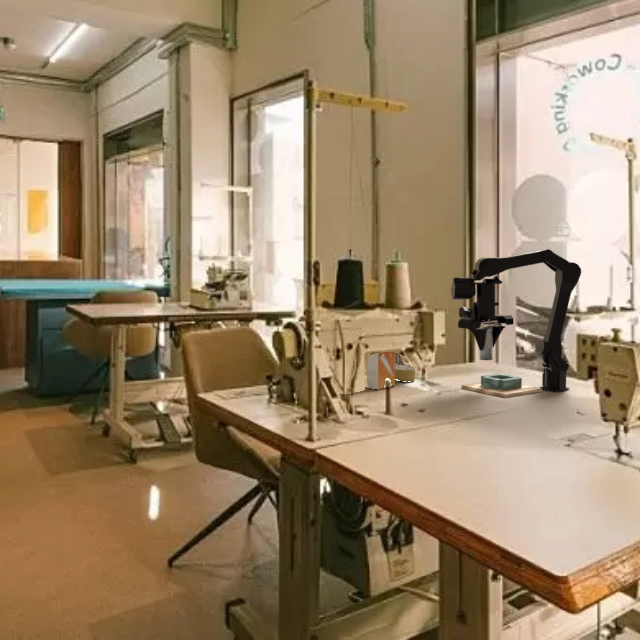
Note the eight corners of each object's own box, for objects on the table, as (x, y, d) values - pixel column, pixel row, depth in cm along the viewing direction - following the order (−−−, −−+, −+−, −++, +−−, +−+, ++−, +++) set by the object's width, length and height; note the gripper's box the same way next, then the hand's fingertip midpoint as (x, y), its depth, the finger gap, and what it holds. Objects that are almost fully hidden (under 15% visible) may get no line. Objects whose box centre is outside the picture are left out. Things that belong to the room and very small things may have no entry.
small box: (378, 390, 230) (378, 348, 229) (363, 387, 235) (363, 346, 234) (395, 387, 236) (395, 346, 235) (380, 384, 240) (380, 344, 239)
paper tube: (414, 379, 249) (415, 304, 247) (415, 382, 243) (416, 306, 240) (394, 378, 250) (394, 304, 248) (394, 382, 243) (394, 306, 241)
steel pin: (495, 359, 229) (495, 327, 228) (486, 360, 227) (486, 328, 226) (485, 357, 232) (485, 326, 231) (476, 359, 230) (476, 327, 229)
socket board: (541, 391, 227) (541, 378, 227) (505, 397, 218) (505, 384, 218) (496, 382, 242) (497, 370, 242) (461, 388, 233) (461, 375, 233)
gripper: (487, 296, 239) (487, 344, 241) (445, 299, 229) (445, 350, 231) (514, 297, 230) (514, 347, 232) (471, 301, 220) (471, 353, 221)
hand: (486, 349), depth 229 cm, fingers closed on steel pin, 4 cm apart
